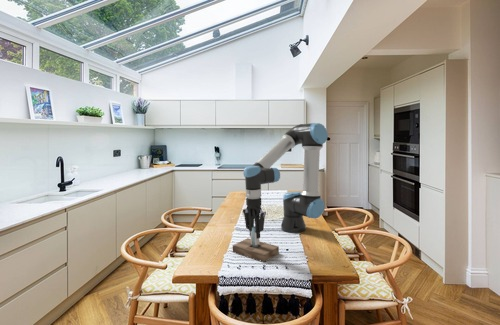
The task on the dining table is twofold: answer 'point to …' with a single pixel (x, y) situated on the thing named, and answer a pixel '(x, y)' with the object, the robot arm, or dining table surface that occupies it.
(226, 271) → the dining table surface
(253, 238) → the peg
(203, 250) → the dining table surface
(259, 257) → the hole block
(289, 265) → the dining table surface
